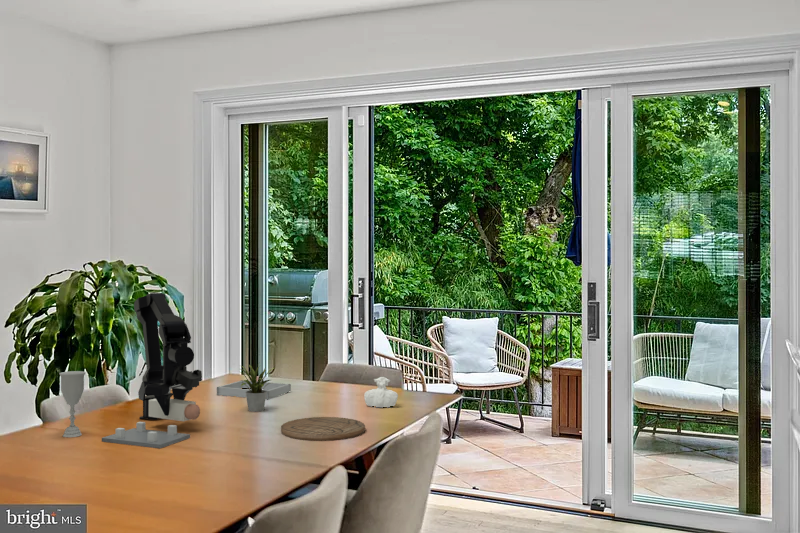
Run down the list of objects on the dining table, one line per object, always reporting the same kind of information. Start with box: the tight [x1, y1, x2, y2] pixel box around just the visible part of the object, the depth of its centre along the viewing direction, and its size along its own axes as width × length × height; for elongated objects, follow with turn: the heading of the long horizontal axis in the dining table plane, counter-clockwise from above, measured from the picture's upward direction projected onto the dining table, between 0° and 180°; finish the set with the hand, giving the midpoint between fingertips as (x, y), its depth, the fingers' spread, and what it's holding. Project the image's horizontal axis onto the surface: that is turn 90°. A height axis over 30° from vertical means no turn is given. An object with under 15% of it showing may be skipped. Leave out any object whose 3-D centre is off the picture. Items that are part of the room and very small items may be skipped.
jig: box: [101, 421, 191, 449], centre depth 209 cm, size 20×13×4 cm, turn 69°
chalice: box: [58, 370, 87, 438], centre depth 214 cm, size 7×7×18 cm
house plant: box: [238, 363, 277, 413], centre depth 251 cm, size 14×14×16 cm
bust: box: [363, 376, 399, 408], centre depth 260 cm, size 12×8×11 cm
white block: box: [149, 398, 201, 422], centre depth 223 cm, size 16×5×5 cm, turn 63°
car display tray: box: [216, 380, 292, 400], centre depth 282 cm, size 22×17×3 cm
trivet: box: [280, 416, 366, 442], centre depth 222 cm, size 25×25×2 cm
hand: (172, 413), depth 223 cm, fingers closed on white block, 5 cm apart
